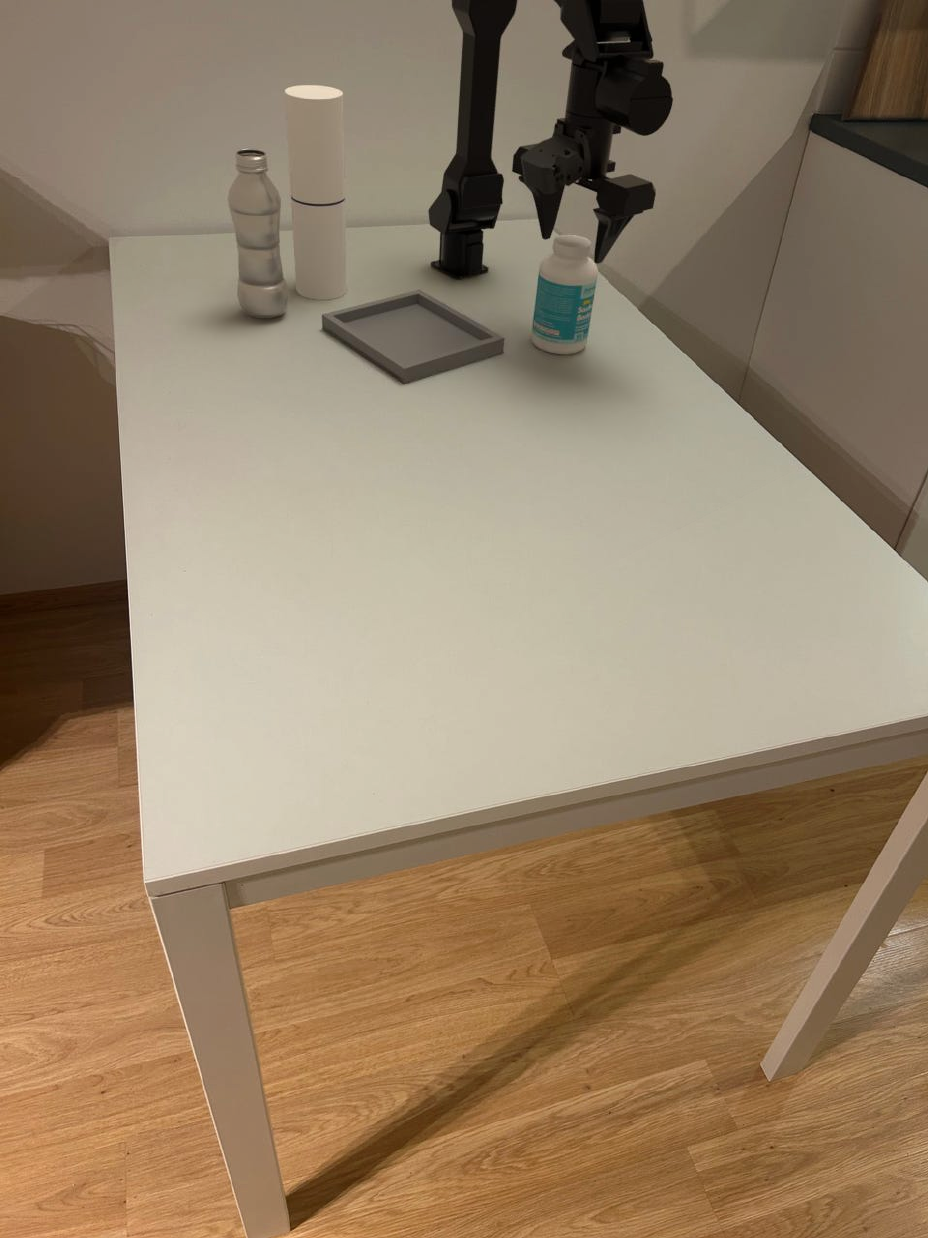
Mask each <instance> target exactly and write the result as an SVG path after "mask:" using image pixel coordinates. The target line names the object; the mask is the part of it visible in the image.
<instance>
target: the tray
mask: <svg viewBox="0 0 928 1238" xmlns="http://www.w3.org/2000/svg"><path fill="white" fill-rule="evenodd" d="M321 327H322V330H323V331H324V332H326V333H327V334H329V335H330V336H332V337H333V338H335V339H336V340H337V341H339V342H340V343H342V344H343V345H345V346H347V347H348V348H350V349H351V350H353V351H354V352H356V353H357V354H358V355H360V356H361V357H363V358H365V360H367V361H369V362H371V364H374V365H375V366H377V367H378V368H380V369H381V370H383V372H385V373H387V374H388V375H390V376H391V377H392V378H394V379H396V380H397V381H399V382H400V383H401V384H403V385H407V384H408V383H413V382H415V381H419V380H421V379H424V378H427V377H430V376H433V375H436V374H440V373H444V372H446V371H450V370H453V369H456V368H459V367H462V366H466V365H468V364H471V363H475V362H478V361H481V360H484V359H488V358H491V357H493V356H497V355H500V354H503V353H504V349H505V348H504V347H505V340H506V339H505V337H504V336H502V335H500V334H498V333H497V332H495V331H493V330H491V329H490V328H488V327H486V326H485V325H483V324H481V323H479V322H477V321H476V320H474V319H472V318H471V317H468V316H467V315H465V314H463V313H461V312H460V311H458V310H456V309H454V308H453V307H451V306H449V305H447V304H446V303H444V302H442V301H440V300H439V299H437V298H435V297H433V296H432V295H430V294H428V293H426V292H424V291H422V290H421V289H417V290H413V291H410V292H404V293H401V294H397V295H394V296H389V297H385V298H382V299H377V300H374V301H370V302H365V303H361V304H358V305H357V304H356V305H354V306H349V307H346V308H342V309H337V310H334V311H330V312H327V313H323V314H321Z"/></svg>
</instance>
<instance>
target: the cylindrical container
mask: <svg viewBox="0 0 928 1238" xmlns="http://www.w3.org/2000/svg"><path fill="white" fill-rule="evenodd" d="M284 99H285V100H284V101H285V118H286V132H287V133H286V134H287V135H286V136H287V137H286V138H287V152H288V153H287V154H288V167H289V168H288V170H289V190H290V205H291V207H290V208H291V222H292V224H291V225H292V237H293V238H292V239H293V259H294V271H295V274H294V275H295V289H296V293H297V294H298V295H300V296H301V297H304V298H306V299H311V300H316V301H317V300H318V301H327V300H330V301H331V300H334V299H339V298H341V297H343V296H344V295H346V294H347V292H348V278H347V277H348V274H347V272H348V271H347V269H348V268H347V233H346V232H347V229H346V228H347V224H346V181H345V180H346V179H345V178H346V176H345V175H346V174H345V173H346V172H345V137H344V136H345V134H344V132H345V127H344V124H345V123H344V120H345V119H344V92H343V91H342V90H341V89H338V88H335V87H331V86H326V85H315V84H304V85H303V84H302V85H301V84H300V85H295V86H293V85H292V86H289V87H287V88H286V89H285V90H284Z"/></svg>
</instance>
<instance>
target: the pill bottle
mask: <svg viewBox="0 0 928 1238" xmlns="http://www.w3.org/2000/svg"><path fill="white" fill-rule="evenodd" d="M552 251H553V252H552V253H550V254H548V255H546V256H544V258H542V260H541V261H540V263H539V268H538V274H537V275H538V276H537V283H536V284H537V285H536V293H535V299H534V301H535V302H534V310H533V318H532V327H531V335H530V336H531V341H532V343H533V344H534V346H535V347H537V348H539V350H542V351H543V352H547V353H550V354H554V355H555V354H557V355H573V354H576V353H578V352H581V351H582V350H583V349H584V348H585V347H586V345H587V343H588V337H589V331H590V325H591V324H590V323H591V318H592V312H593V305H594V300H595V293H596V288H597V282H598V275H599V269H598V264H596V263H594V259H592V258H590V257H589V256H590V254H591V251H592V242H591V240H589V239H588V238H586V237H583V236H581V235H576V234H575V235H574V234H560V235H557V236H555V237H554V238H553V243H552Z"/></svg>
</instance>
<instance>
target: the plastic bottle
mask: <svg viewBox="0 0 928 1238" xmlns="http://www.w3.org/2000/svg"><path fill="white" fill-rule="evenodd" d="M267 156H268V155H267V153H266V152H265V151H264V150H261V149H257V148H256V149H254V148H244V149H239V150H236V151H235V170H236V171H238V173H237V175H236V177H235V179H234V180H233V182H232V183H231V186H230V187H229V190H228V196H227V202H228V208H229V212H230V216H231V220H232V223H233V224H232V226H233V228H234V234H235V235H234V236H235V241H236V248H237V253H238V261H237V262H238V279H237V294H236V295H237V298H238V302H239V303H238V304H239V307H240V308H241V310H243V312H244V313H245V314H246V315H248V316H250V317H253V318H256V319H272V318H276V317H279V316H281V315H283V314H284V313H285V311H286V310H287V307H288V303H289V291H288V287H287V283H286V280H285V277H284V270H283V263H282V258H281V245H280V243H281V241H280V240H281V237H280V235H281V234H280V225H281V211H282V210H281V208H282V201H281V200H282V198H281V196H280V193H279V190H278V189H277V188H276V186H275V183H273V181H272V180H271V178H270V177H269V176H268V175H267V172H268V171H269V164H268V159H267V158H268V157H267Z"/></svg>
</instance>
